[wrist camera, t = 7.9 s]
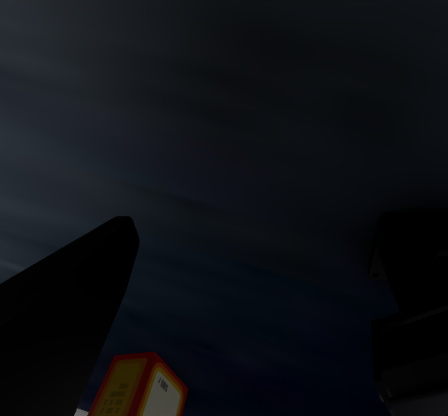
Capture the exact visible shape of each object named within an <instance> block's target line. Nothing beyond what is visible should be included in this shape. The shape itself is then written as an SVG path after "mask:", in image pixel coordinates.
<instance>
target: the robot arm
mask: <svg viewBox="0 0 448 416" xmlns="http://www.w3.org/2000/svg"><path fill="white" fill-rule="evenodd" d="M388 219H390V220H389V221H387V222H385V221H386V220H388ZM138 248H139V236H138V234H137V231H136V228H135V225H134V222H133V220H132V218H131V217H129V216H116V217H114V218H112V219H111V220H109V221H107V222H106V223H104V224H102V225H100V226H99V227H97V228H95V229H94V230H92V231H90V232H88V233H87V234H85V235H83V236H82V237H80V238H78V239H76V240H75V241H73V242H71V243H70V244H68V245H66V246H64V247H63V248H61V249H59V250H58V251H56V252H54V253H52V254H51V255H49V256H47V257H46V258H44V259H42V260H40V261H39V262H37V263H35V264H34V265H32V266H30V267H28V268H27V269H25V270H23V271H22V272H20V273H18V274H16V275H15V276H13V277H11V278H10V279H8V280H6V281H4V282H3V283H1V284H0V416H74V414H75V412H76V409H77V407H78V405H79V403H80V400H81V398H82V395H83V393H84V391H85V388H86V386H87V383H88V381H89V379H90V376H91V374H92V371H93V369H94V367H95V364H96V362H97V359H98V357H99V355H100V352H101V350H102V347H103V345H104V343H105V340H106V338H107V335H108V333H109V331H110V328H111V326H112V323H113V321H114V319H115V316H116V314H117V311H118V309H119V307H120V304H121V302H122V299H123V297H124V294H125V292H126V289H127V286H128V282H129V279H130V275H131V272H132V269H133V265H134V262H135V258H136V255H137V252H138ZM374 273H376V274H374ZM368 275H369V277H370V278H371V279H374V280H388V282H389V284H390V287H391V290H392V292H393V295H394V298H395V301H396V303H397V306H398V309H399V311H400V312H398V313H396V314H393V315H390V316H387V317H385V318H382V319H380V318H378V319H375V320H372V321H371V329H372V333H371V335H372V355H373V374H374V382H375V385H376V386H377V388H378V395H379V397H380V399H381V400H382V401H383V402H384V403H385V405H386V407H387V409H388V410H389V412H390V414H391V415H392V416H448V213H387V214H383V215H382V216H381V217H380V219H379V223H378V227H377V232H376V237H375V241H374V246H373V251H372V255H371V260H370V265H369V269H368Z"/></svg>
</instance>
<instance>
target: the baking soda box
mask: <svg viewBox="0 0 448 416" xmlns="http://www.w3.org/2000/svg"><path fill="white" fill-rule="evenodd" d="M187 393H188V388H187V387H186V386H185V384H184V383H183V382H182V381H181V380H180V379H179V378H178V377H177V376H176V374H175V373H174V372H173V371H172V370H171V369H170V368H169V367H168V366H167V365H166V363H165V362H164V361H163V360H162V359H161V358H160V357H159V356H158V355H157V353H156V352H148V353H138V354H128V355H118V356H114V358H113V361H112V363H111V365H110V367H109V369H108V372H107V374H106V376H105V378H104V380H103V383H102V385H101V387H100V389H99V391H98V393H97V396H96V398H95V400H94V402H93V404H92V407H91V409H90V411H89V413H88V415H87V416H182V414H183V410H184V406H185V401H186V397H187Z"/></svg>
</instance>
